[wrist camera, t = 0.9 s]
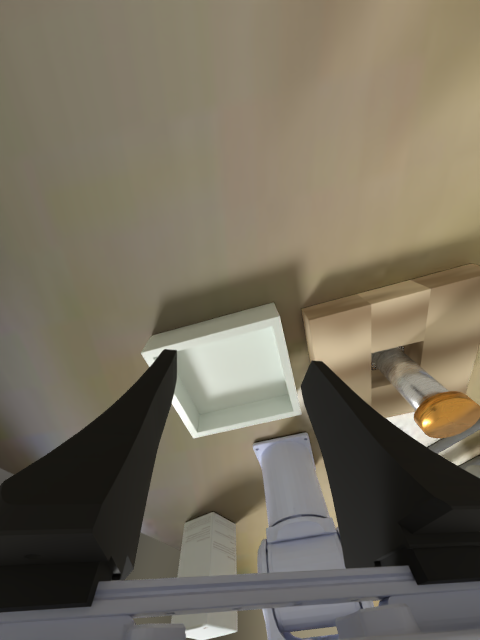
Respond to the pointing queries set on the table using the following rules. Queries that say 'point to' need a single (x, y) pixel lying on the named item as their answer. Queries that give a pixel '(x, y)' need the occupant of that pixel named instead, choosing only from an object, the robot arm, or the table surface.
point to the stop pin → (427, 395)
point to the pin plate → (400, 333)
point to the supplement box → (208, 570)
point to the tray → (230, 371)
